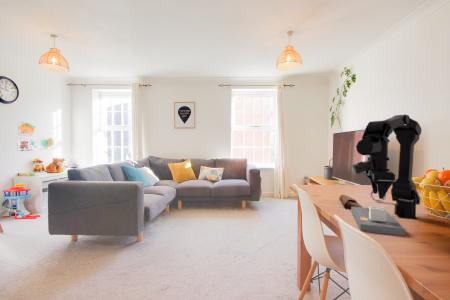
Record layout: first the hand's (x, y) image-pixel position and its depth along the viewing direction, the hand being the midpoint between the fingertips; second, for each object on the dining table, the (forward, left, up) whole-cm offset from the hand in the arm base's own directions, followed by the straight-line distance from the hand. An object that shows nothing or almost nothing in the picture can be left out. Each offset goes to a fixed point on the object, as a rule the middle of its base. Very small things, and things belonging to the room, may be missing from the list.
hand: (377, 196), depth 89 cm
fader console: (0, -6, -12) cm, 13 cm away
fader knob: (0, 0, -9) cm, 9 cm away
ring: (-9, -45, -12) cm, 47 cm away
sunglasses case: (+5, -32, -13) cm, 35 cm away
